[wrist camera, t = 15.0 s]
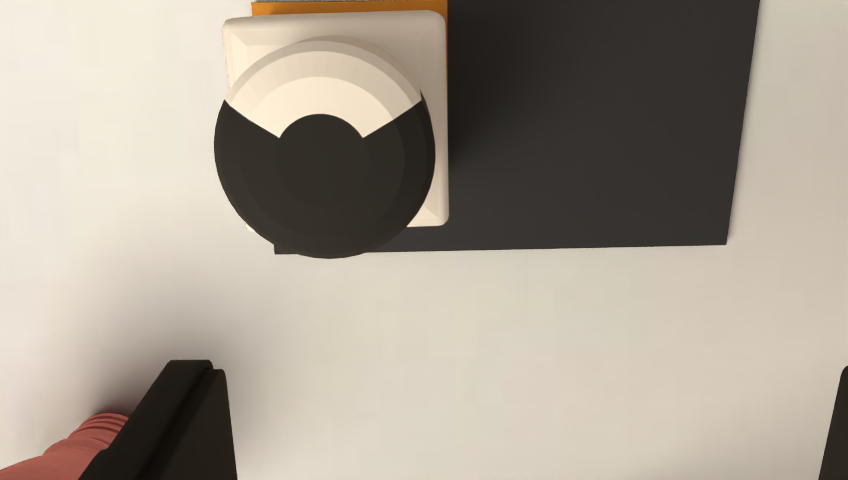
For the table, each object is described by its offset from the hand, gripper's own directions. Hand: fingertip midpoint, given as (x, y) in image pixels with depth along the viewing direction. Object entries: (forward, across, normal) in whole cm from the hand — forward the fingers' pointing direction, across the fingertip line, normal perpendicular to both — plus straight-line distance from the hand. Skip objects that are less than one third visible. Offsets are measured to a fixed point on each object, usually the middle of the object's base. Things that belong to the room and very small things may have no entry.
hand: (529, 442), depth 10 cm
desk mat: (+22, -2, -1) cm, 22 cm away
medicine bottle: (+21, +4, -2) cm, 22 cm away
